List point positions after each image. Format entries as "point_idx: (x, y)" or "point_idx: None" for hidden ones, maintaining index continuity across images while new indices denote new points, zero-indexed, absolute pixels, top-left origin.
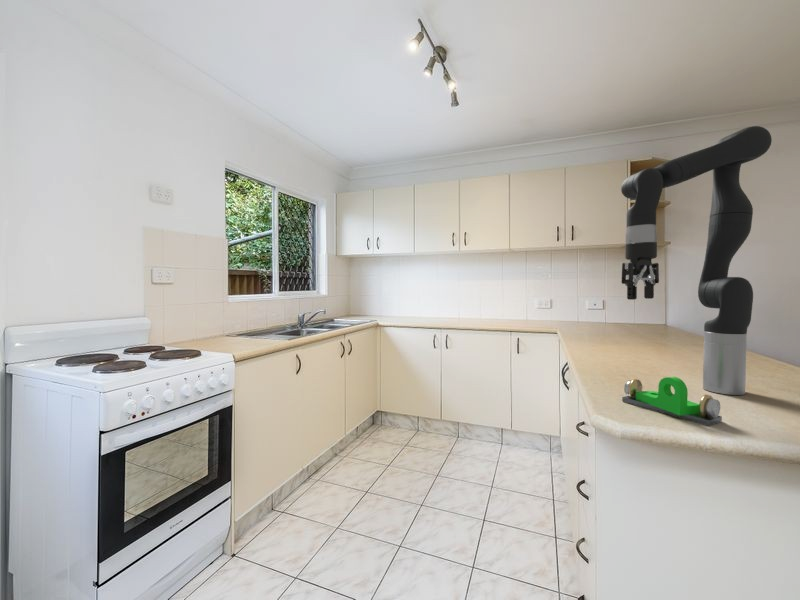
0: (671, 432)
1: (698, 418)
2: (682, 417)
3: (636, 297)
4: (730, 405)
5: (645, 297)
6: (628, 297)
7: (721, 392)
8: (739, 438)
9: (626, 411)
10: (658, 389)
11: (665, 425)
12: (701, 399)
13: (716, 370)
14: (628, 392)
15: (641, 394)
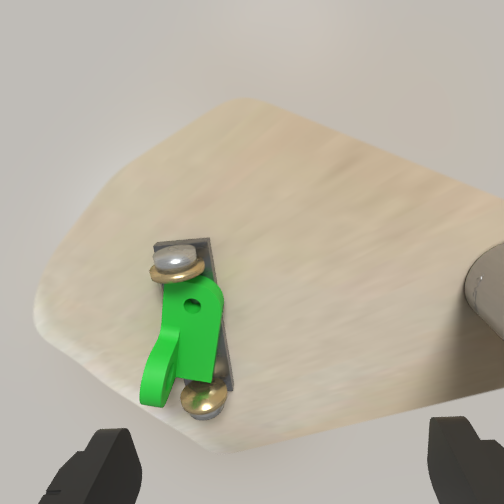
0: (100, 377)
1: (184, 379)
2: None
3: (134, 496)
4: (368, 345)
5: (434, 428)
6: (94, 449)
7: (466, 297)
8: (180, 422)
9: (109, 290)
10: (153, 347)
11: (118, 358)
12: (184, 405)
13: (501, 319)
14: (154, 265)
15: (164, 292)
